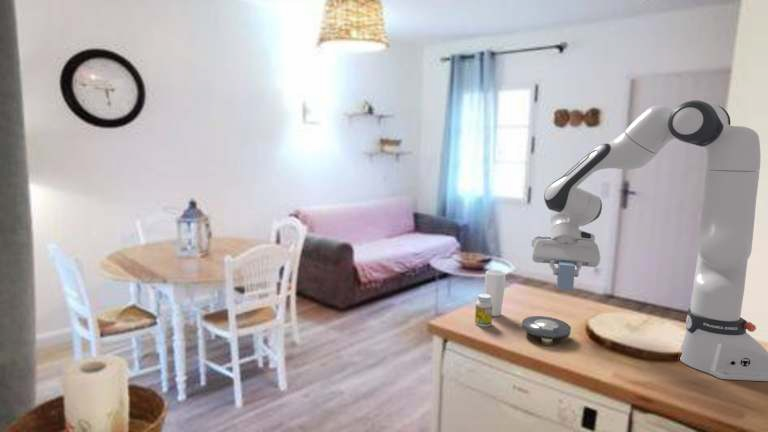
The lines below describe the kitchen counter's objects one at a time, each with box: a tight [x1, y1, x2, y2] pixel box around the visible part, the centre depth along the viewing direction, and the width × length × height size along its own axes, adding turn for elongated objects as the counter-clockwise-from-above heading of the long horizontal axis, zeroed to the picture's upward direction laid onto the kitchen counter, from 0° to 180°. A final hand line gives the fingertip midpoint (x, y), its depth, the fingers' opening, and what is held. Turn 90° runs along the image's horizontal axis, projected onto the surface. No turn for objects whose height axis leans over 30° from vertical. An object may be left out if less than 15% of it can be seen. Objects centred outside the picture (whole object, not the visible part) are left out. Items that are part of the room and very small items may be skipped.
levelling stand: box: [521, 315, 572, 347], centre depth 142 cm, size 14×14×5 cm
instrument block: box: [556, 261, 576, 292], centre depth 145 cm, size 4×4×8 cm
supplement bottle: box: [474, 293, 493, 327], centre depth 151 cm, size 5×5×10 cm
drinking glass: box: [484, 269, 507, 317], centre depth 159 cm, size 7×7×15 cm
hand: (565, 275), depth 144 cm, fingers closed on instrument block, 4 cm apart
